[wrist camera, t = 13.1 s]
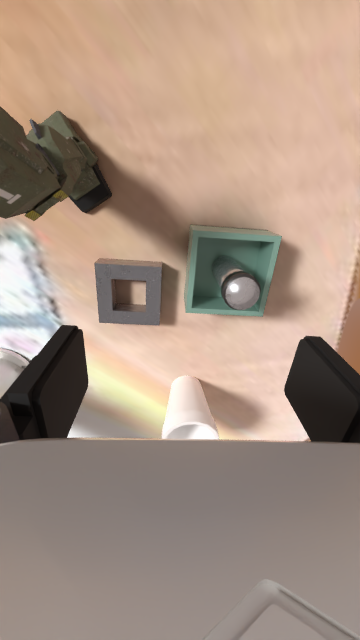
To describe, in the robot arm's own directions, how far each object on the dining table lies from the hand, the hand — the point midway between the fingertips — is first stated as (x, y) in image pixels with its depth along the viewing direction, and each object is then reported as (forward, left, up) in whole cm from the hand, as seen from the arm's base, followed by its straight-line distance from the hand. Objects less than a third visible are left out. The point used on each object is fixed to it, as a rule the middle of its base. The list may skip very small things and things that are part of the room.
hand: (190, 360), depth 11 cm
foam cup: (-30, -4, -32) cm, 44 cm away
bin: (-4, -8, -32) cm, 34 cm away
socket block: (-9, +7, -32) cm, 34 cm away
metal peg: (-4, -8, -32) cm, 33 cm away
